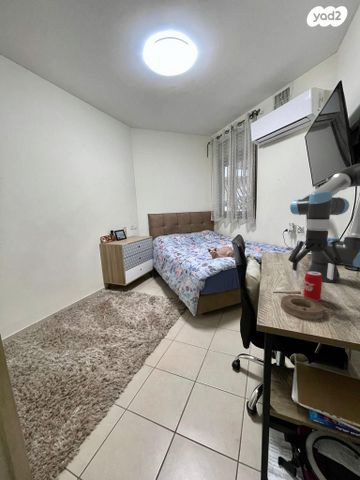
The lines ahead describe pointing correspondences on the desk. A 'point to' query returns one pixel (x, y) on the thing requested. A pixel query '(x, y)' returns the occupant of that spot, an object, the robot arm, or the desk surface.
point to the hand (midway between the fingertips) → (312, 278)
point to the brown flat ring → (311, 312)
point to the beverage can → (313, 285)
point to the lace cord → (286, 291)
